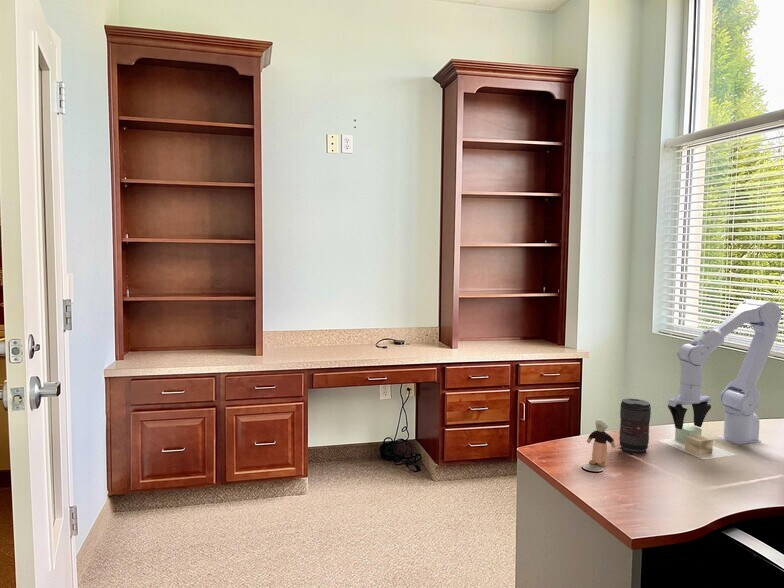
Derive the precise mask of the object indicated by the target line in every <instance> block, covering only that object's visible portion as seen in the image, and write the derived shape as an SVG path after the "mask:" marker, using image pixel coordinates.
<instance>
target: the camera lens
mask: <svg viewBox="0 0 784 588" xmlns="http://www.w3.org/2000/svg"><path fill="white" fill-rule="evenodd" d="M619 410H620V412H619V415H620V416H619V418H620V426H619V446H621V447H620V448H621V449H620V450H621V452H622V453H624V454H627V455H629V454H630V456H634V455H641V454H646V452H647V449H648V448H649V440H650V421H651V414H652V413H651V412H652V407H651V402H649V401H647V400H644V399H638V398H622V399H621V402H620V409H619Z"/></svg>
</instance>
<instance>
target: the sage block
mask: <svg viewBox="0 0 784 588" xmlns="http://www.w3.org/2000/svg"><path fill="white" fill-rule="evenodd" d="M674 432H675V433H674V435H675V436H674V438H675V439H677V440H680V441H682V442H685V436H690V435H698V434H699V435H702V429H701V427H698V426H695V425H690V424H683V428H682V429H678V428H675V431H674Z"/></svg>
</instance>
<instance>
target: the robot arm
mask: <svg viewBox="0 0 784 588" xmlns="http://www.w3.org/2000/svg"><path fill="white" fill-rule="evenodd" d="M782 316H783V312H782V310H781V309H780V307H779V305H778V304H777V303H776V302H773V301H764V300H755V299H751V298H749V299H748V298H747V299H745V300H743V301H742V302H741V303H740V304H738V305H737V306H736V309H735V311H734V312H732V313H731V314H730V315H729V316H728V317H726V318H725V319H724V320H723V321H722V322H721V323H720V324H719V325H717V326H716V327H714V328H708V329H706V328H705V329H704V330H702V333H701V334H700V335H699V336H697V337H696V338H695V339H692V340H691V342H690V343H684V344H682V346H681V347H679V349H678V351H677V352H676V354H677V356H676V357H677V358H678V359H679V361H680V362H679V363H680V379H679V380H680V381H679V394H678V395H677V396H675V397H672V398H668V404H667V408H668V409H669V411H670V413H671V416H672V419H673V420H672V421H673V423H674V428H675V429H676V428H678V429H682V428H683V425H684V420H685V419H684V418H685V416H686V413H687V411H688V408H685V407H683V406H685V405H692V411H693V426H694V427H697V428H702V425H703V423H704V420H705V418H706V416H707V414H708V412H709V411H710V410H711V408H712V405H711V396H708V395H702V394H701V393H702V376H703V375H702V373H703V364H705V363H706V362H707V361H708V358H709V356H710V354H711V353H712V352H714V351H715V350H717V349H718V348H719V347H720V346H721V345H722V344H724V342H725V338H726V336H728V335H730V333H732V332H734V331H735V330H737V329H738V328H741V326H743V325H745V324H747V323H748V324H749V326H751V327H752V329H753V331H754V334H753V337H752V339H751V342H750V344H749V347H748V348H747V352H746V354H745V356H744V359H743V361H742V363H741V366H740V369H739V371H738V373H737V376H736V378H734V379H733V380H732V381H729V382H728V383H727V385H726V387H725V389H723V390H722V391H721V393H720V394H719V395H720V396H719V401H720V404H721V405H722V406H723V410H724V421H723V422H724V425H723V435H722V434H720V435H716V437H718V438H720V439H724V440H726V441H729V442H732V443H735V444H737V445H743V444H744V445H745V444H751V443H756V442H757V443H758V442H759V443H762V440H760V439H759V436H760V418H759V416H758V414H756V412H757V411H758V409H759V407H760V406H759V405H760V402H759V401H760V398H761V397H760V396H761V393H760V391H759V389H758V388H757V384H758V382H759V380H760V377H761V374H762V373H763V369H764V367H765V365H766V363H767V360H768V357H769V355H770V353H771V351H772V349H773V346H774V343H775V341H776V338H777V336H778V334H779V322H780V320H781V318H782Z"/></svg>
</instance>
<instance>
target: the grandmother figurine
mask: <svg viewBox="0 0 784 588" xmlns="http://www.w3.org/2000/svg"><path fill="white" fill-rule="evenodd" d="M608 428H609V425H608V423H607V421H606V420H605V419H604V418H597V419H596V420H595V429H596V430H593V431H592V432H591V433H590V434H589V435H588V437H587V440H586V443H588V444H590V443H591V442H592V441H593V439H594V441H593V444H592V453H591V459H590V460H589V462H588V463H589V464H591V465H597V464H598V466H599V465H600V466H599V467H606V466H607V457H608V456H607V455H608V446H607V445H608V443H609V444H610V446H611V448H613V449H615V448H616V446H617V445H616V444H615V439H614V438H613V437H612V436H611V435H610V434H608V433H607V432H606V430H607V429H608ZM607 442H608V443H607ZM596 463H597V464H596Z"/></svg>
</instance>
